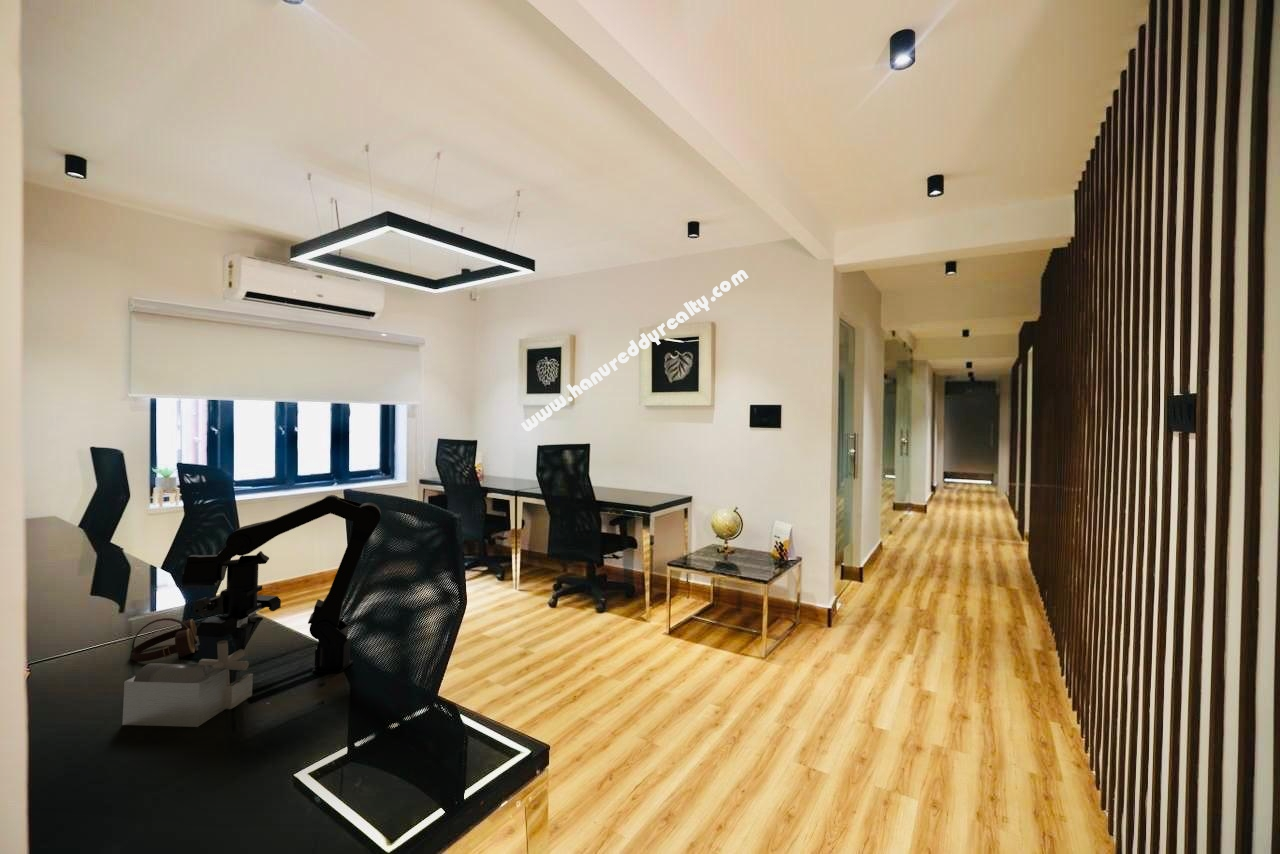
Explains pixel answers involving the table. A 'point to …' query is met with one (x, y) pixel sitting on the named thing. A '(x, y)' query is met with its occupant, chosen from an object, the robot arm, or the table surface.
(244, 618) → the robot arm
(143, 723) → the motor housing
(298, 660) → the table surface
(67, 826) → the table surface
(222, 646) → the pipe connector
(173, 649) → the goggles
